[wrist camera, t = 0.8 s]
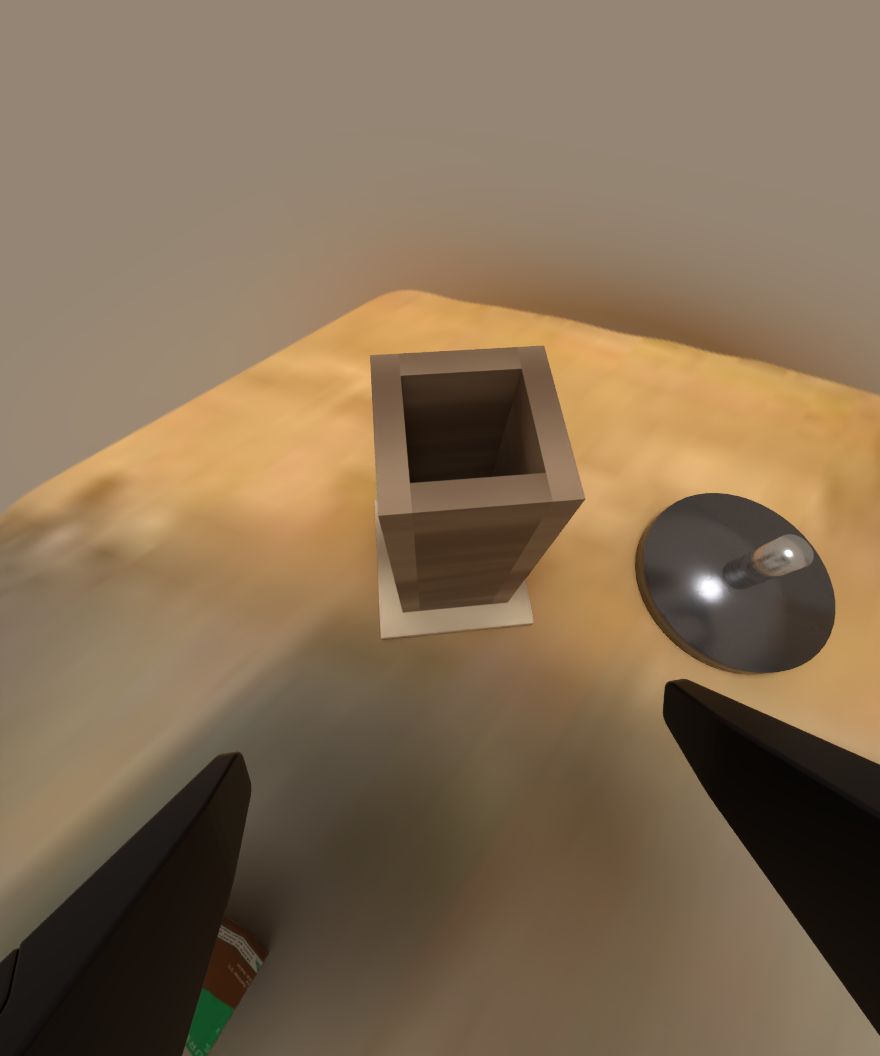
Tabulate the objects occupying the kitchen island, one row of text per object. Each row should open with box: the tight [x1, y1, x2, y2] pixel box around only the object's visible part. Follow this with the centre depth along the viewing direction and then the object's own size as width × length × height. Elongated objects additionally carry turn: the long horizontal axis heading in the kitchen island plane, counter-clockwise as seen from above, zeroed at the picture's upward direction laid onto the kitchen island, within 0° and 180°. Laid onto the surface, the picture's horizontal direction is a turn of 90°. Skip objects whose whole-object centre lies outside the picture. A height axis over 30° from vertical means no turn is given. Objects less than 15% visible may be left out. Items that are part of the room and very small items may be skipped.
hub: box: [636, 493, 835, 674], centre depth 21 cm, size 10×10×5 cm
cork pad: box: [375, 500, 534, 640], centre depth 23 cm, size 8×8×1 cm
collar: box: [370, 346, 585, 613], centre depth 18 cm, size 6×6×12 cm
